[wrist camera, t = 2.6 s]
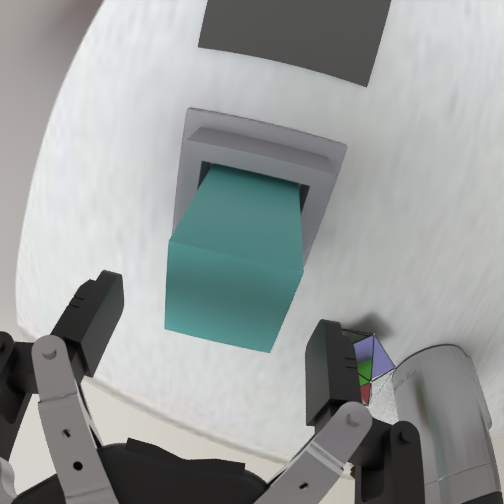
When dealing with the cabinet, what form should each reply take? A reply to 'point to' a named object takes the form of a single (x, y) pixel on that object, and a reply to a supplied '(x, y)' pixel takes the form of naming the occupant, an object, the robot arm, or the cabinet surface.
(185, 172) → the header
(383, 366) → the geometric puzzle
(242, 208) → the teal block
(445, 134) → the cabinet surface
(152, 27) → the cabinet surface
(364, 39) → the mat
